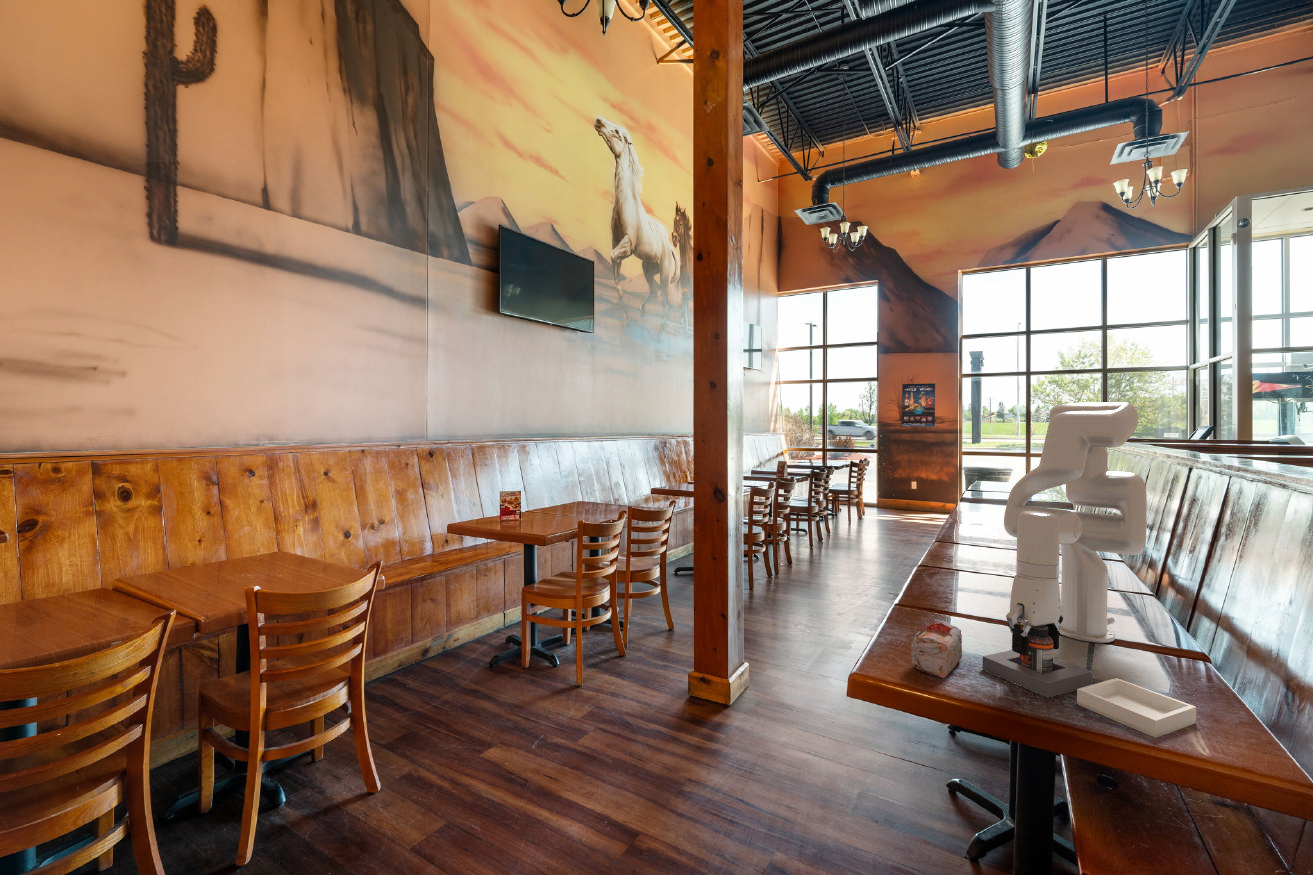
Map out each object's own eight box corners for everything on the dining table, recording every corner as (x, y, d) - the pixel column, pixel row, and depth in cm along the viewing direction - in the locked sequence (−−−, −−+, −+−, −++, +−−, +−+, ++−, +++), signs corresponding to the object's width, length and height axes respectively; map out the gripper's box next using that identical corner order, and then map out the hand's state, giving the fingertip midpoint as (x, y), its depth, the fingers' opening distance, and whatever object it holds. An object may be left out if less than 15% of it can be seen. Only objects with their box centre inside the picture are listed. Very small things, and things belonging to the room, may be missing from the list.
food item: (948, 683, 117) (949, 636, 117) (908, 671, 123) (909, 627, 122) (964, 662, 127) (965, 619, 127) (927, 653, 133) (927, 611, 133)
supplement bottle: (1012, 672, 122) (1013, 620, 122) (1038, 671, 123) (1038, 619, 123) (1033, 684, 116) (1034, 630, 116) (1059, 683, 117) (1060, 629, 117)
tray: (1116, 692, 113) (1116, 677, 113) (1196, 723, 101) (1196, 706, 101) (1076, 704, 108) (1077, 688, 108) (1155, 737, 97) (1156, 720, 96)
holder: (1024, 659, 129) (1025, 646, 129) (1092, 685, 116) (1092, 671, 116) (982, 669, 123) (982, 656, 123) (1048, 698, 111) (1048, 683, 110)
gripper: (1045, 563, 126) (1044, 638, 126) (992, 569, 119) (990, 649, 119) (1082, 570, 119) (1080, 651, 119) (1027, 577, 112) (1025, 662, 113)
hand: (1035, 650), depth 119 cm, fingers open, 9 cm apart
